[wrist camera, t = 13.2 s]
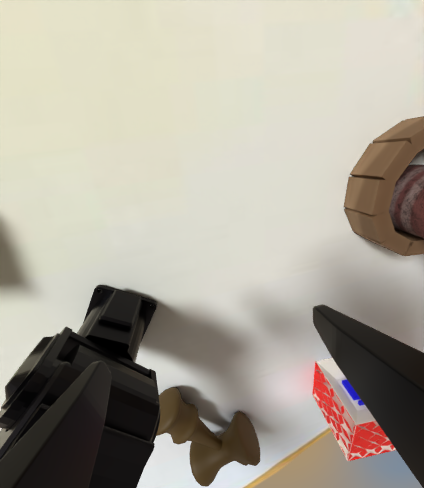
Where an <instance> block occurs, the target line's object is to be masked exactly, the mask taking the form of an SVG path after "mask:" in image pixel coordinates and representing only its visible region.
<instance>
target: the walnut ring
mask: <svg viewBox="0 0 424 488" xmlns="http://www.w3.org/2000/svg"><path fill="white" fill-rule="evenodd" d="M423 149H424V116H423V117H418V118H412V119H406V120H405V121H401V122H400V123H398V124H397V125H396V126H394V127H393V128H391V129H390V130H388V131H387V132H385V133H384V134H382V135H381V136H379V137H378V138H376V139H375V140H373V144H369V146H368V147H367V149H366V151H365V152H364V154H363V155H362V157H361V158H360V160H359V161H358V163H357V164H356V166H355V167H354V169H353V170H352V172H351V173H350V174H351V175H353V176H355V177H349V179H348V185H347V191H346V197H345V203H344V207H347V208H346V209H344V210H345V213H346V215H347V218H348V220H349V223H350V225H351V228H352V230H353V231H354V233H356V234H358V235H360V236H362V237H364V238H366V239H368V240H370V241H372V242H374V243H376V244H378V245H380V246H382V247H385V248H387V249H389V250H391V251H394V252H396V253H398V254H400V255H404V256H410V255H418V254H424V238H422V237H419V236H416V235H413V234H410V233H407V232H404V231H401V230H398V229H395V228H394V226H393V223H392V220H391V217H390V213H389V207H390V204H391V200H392V196H393V192H394V188H395V184H396V181H397V180H398V179H399V177H400V176H401V174H402V173H403V172H404V170H405V169H406V168H407V166H408V165H409V164H410V162H411V161H412V160H413V158H414V157H415V155H416V154H417V153H418V152H420V151H421V150H423Z"/></svg>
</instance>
